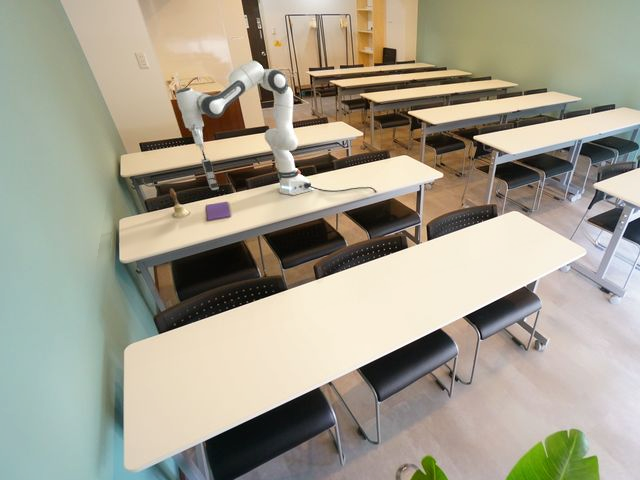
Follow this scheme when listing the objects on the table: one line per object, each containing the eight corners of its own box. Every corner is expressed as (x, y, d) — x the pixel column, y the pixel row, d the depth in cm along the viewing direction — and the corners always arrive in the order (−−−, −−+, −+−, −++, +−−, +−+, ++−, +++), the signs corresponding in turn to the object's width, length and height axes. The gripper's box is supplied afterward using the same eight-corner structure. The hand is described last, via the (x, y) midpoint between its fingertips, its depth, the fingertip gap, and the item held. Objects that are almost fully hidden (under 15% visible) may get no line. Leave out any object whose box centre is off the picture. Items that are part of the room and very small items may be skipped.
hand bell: (169, 216, 200) (159, 190, 191) (181, 210, 206) (171, 185, 197) (180, 218, 198) (170, 192, 189) (192, 212, 204) (182, 187, 195)
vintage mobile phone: (212, 190, 195) (198, 146, 181) (210, 187, 199) (195, 144, 184) (219, 189, 197) (205, 145, 183) (216, 186, 201) (203, 143, 186)
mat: (227, 202, 216) (227, 201, 216) (230, 216, 200) (230, 215, 200) (206, 206, 212) (206, 204, 211) (208, 220, 196) (207, 219, 195)
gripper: (201, 126, 171) (209, 154, 179) (200, 118, 186) (208, 144, 194) (187, 128, 169) (196, 155, 177) (187, 119, 184) (195, 145, 192)
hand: (202, 149), depth 186 cm, fingers closed on vintage mobile phone
